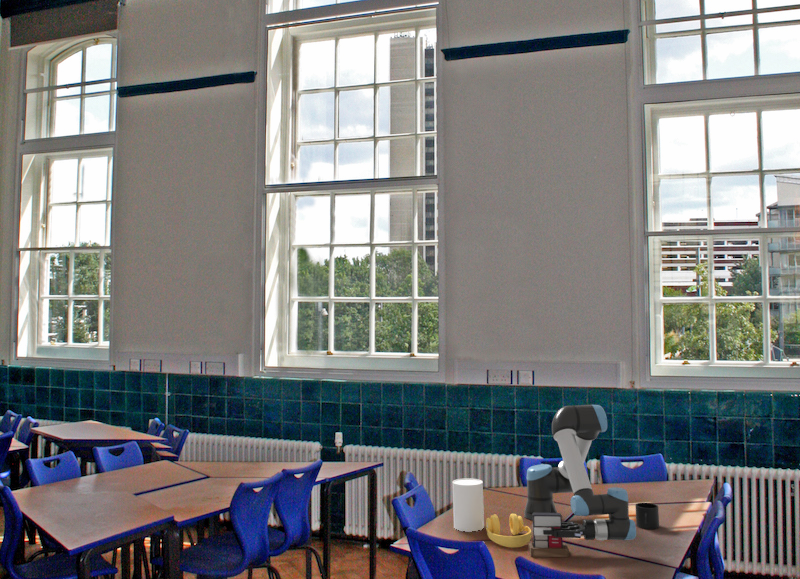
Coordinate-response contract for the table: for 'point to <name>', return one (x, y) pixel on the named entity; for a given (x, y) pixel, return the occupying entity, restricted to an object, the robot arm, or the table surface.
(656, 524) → the mug
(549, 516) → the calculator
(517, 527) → the headset
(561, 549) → the slot stand
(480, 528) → the canister
